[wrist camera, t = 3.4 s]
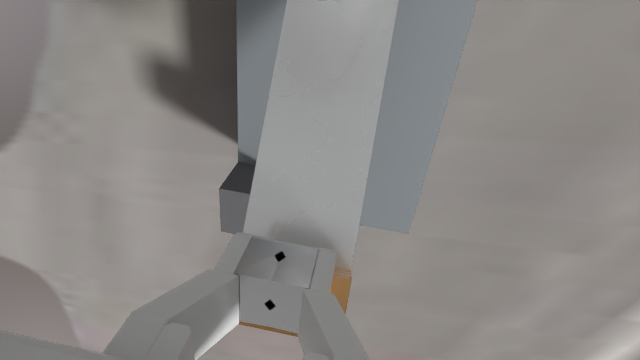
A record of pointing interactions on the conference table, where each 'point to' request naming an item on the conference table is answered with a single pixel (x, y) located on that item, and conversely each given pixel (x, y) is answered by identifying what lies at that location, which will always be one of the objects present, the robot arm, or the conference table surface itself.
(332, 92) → the lever
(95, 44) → the conference table surface
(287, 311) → the robot arm
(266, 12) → the clamp block
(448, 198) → the conference table surface
